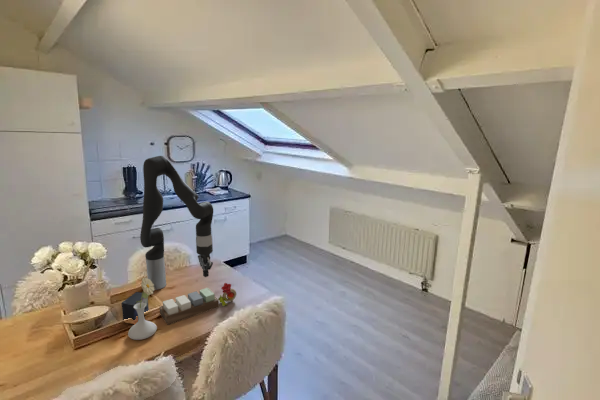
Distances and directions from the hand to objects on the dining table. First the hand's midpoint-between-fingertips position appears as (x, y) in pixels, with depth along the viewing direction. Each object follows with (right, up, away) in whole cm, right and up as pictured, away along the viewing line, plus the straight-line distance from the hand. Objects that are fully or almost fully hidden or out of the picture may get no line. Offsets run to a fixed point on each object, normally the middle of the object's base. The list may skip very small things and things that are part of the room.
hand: (206, 276), depth 165 cm
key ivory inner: (-10, -14, -4) cm, 18 cm away
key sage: (0, -13, +3) cm, 13 cm away
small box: (-30, -18, -8) cm, 36 cm away
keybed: (-7, -16, -2) cm, 18 cm away
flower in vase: (-21, -21, -19) cm, 35 cm away
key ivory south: (-14, -15, -8) cm, 22 cm away
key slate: (-5, -14, -1) cm, 14 cm away
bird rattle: (+9, -15, +6) cm, 19 cm away
